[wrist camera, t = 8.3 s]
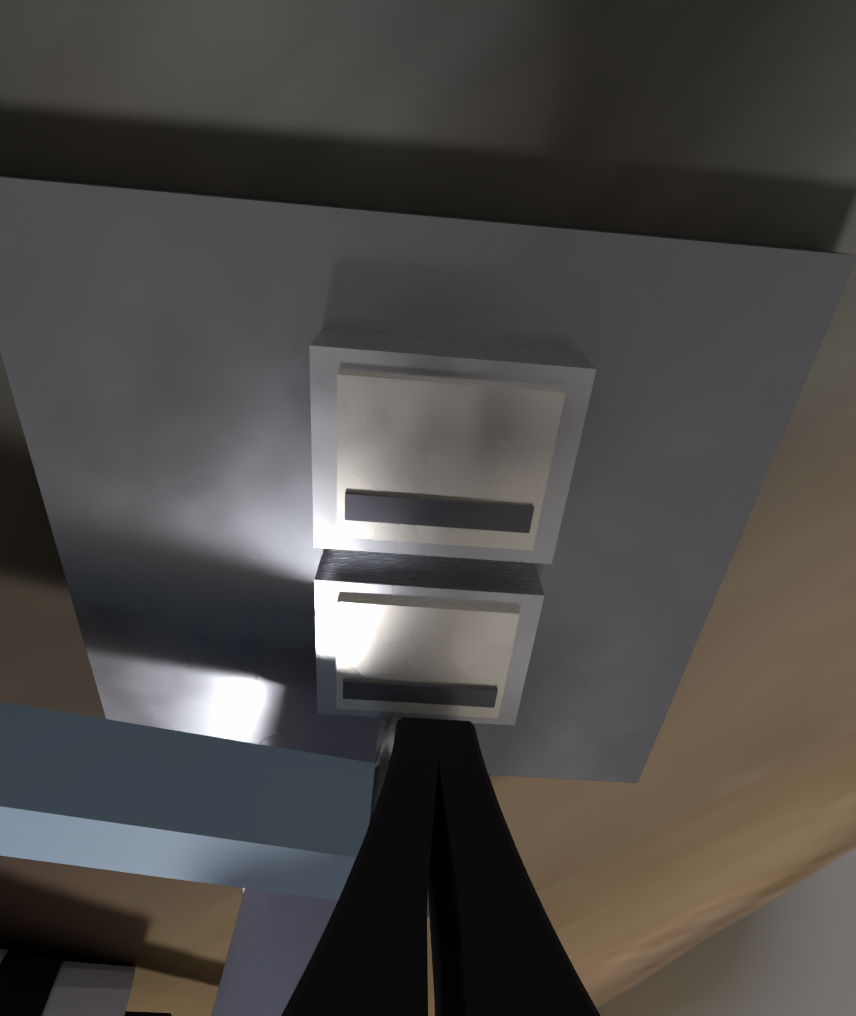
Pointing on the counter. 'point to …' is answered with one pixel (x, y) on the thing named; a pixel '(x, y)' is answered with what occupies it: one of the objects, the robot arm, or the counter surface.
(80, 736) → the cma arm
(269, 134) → the counter surface
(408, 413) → the chassis
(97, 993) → the black banded cylinder
